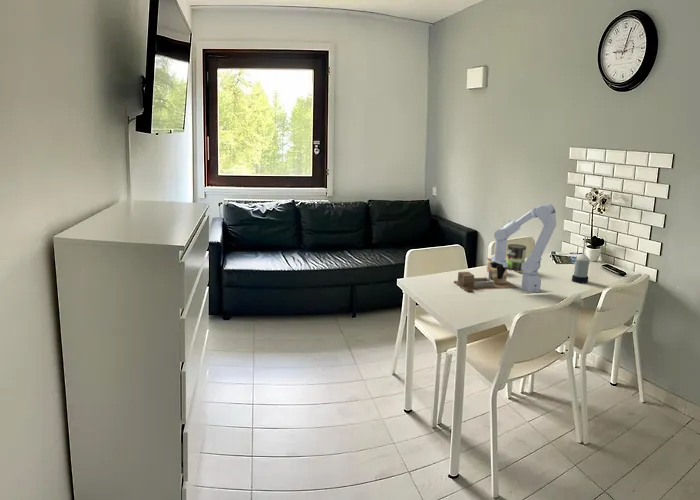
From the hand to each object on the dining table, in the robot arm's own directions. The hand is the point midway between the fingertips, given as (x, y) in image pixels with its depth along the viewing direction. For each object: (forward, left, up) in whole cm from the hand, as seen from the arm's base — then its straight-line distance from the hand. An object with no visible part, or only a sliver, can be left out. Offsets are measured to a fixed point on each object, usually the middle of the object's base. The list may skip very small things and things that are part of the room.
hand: (497, 277), depth 283 cm
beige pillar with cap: (0, 0, -2) cm, 2 cm away
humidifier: (-2, -48, -3) cm, 48 cm away
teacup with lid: (+17, -9, -3) cm, 19 cm away
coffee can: (+24, -24, -3) cm, 34 cm away
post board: (-4, +8, -3) cm, 10 cm away
